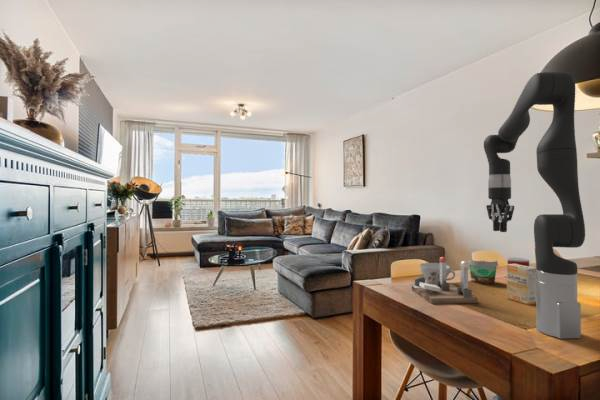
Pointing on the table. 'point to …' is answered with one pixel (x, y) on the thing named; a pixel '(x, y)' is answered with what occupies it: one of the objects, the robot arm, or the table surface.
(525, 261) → the canned food
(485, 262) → the food container
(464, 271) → the grey metal bar
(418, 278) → the button
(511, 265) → the supplement box
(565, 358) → the table surface
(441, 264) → the red toggle
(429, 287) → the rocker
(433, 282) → the teacup
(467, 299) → the panel
